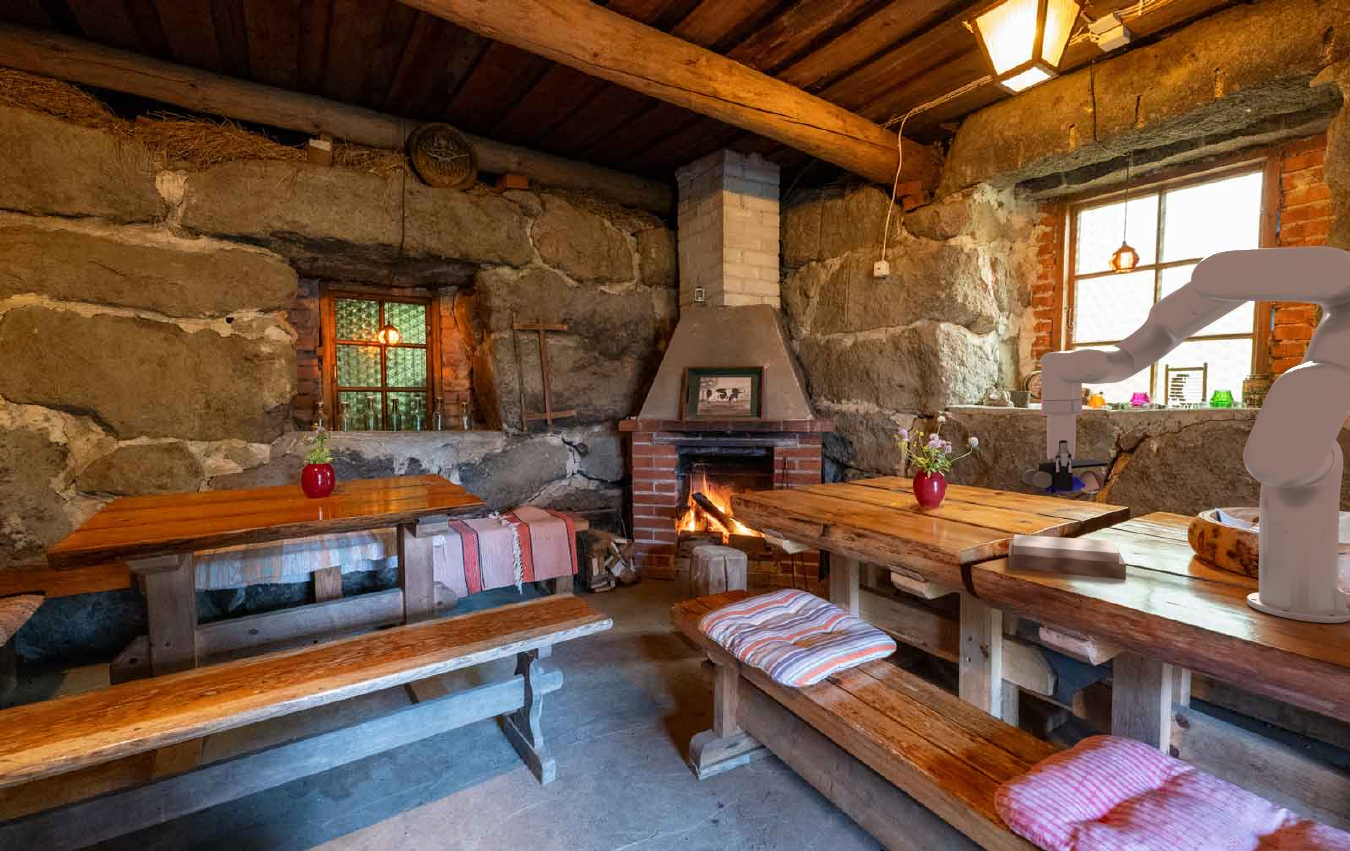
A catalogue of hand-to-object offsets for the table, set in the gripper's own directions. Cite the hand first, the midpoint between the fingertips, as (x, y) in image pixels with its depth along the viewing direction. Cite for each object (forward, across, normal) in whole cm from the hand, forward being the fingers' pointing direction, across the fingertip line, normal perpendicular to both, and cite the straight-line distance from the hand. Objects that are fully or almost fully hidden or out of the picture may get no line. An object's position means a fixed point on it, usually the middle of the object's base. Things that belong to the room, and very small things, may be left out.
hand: (1062, 487), depth 135 cm
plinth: (+17, 0, 0) cm, 17 cm away
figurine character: (+2, 0, 0) cm, 2 cm away
